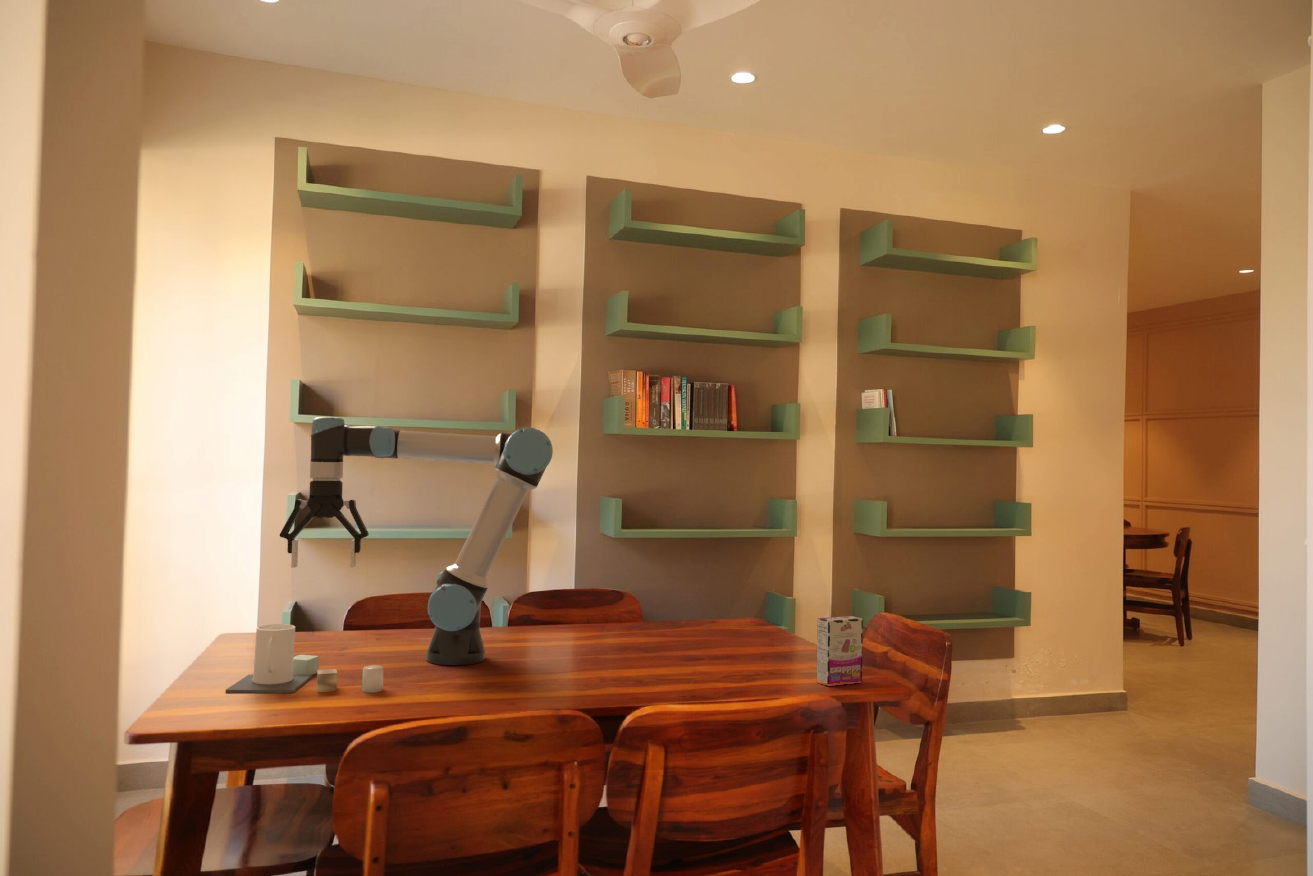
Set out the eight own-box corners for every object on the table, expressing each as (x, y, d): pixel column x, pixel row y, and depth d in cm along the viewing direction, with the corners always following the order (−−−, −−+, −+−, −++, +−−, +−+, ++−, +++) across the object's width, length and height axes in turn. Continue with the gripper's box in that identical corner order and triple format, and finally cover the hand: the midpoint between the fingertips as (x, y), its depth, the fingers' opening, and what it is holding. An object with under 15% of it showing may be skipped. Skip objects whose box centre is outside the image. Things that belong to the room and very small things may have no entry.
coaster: (311, 677, 195) (311, 675, 195) (293, 693, 181) (293, 690, 181) (248, 677, 193) (248, 674, 193) (225, 692, 179) (225, 689, 179)
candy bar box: (849, 679, 215) (851, 615, 215) (862, 684, 210) (864, 618, 211) (814, 682, 209) (816, 617, 210) (827, 687, 205) (829, 620, 206)
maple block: (335, 687, 188) (336, 669, 188) (336, 691, 184) (337, 673, 185) (316, 688, 186) (317, 670, 187) (316, 692, 183) (317, 674, 183)
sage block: (318, 672, 201) (319, 656, 201) (306, 677, 196) (307, 660, 196) (299, 671, 201) (300, 654, 202) (286, 675, 197) (288, 658, 197)
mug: (283, 688, 182) (287, 633, 183) (242, 688, 181) (245, 633, 181) (297, 676, 194) (300, 624, 194) (258, 676, 192) (261, 623, 193)
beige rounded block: (384, 687, 189) (385, 665, 189) (380, 692, 184) (381, 669, 185) (364, 687, 188) (365, 665, 188) (359, 692, 184) (361, 669, 184)
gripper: (381, 480, 211) (379, 564, 210) (276, 479, 206) (273, 565, 205) (377, 480, 203) (374, 567, 202) (268, 479, 199) (265, 568, 198)
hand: (323, 566), depth 204 cm, fingers open, 13 cm apart
